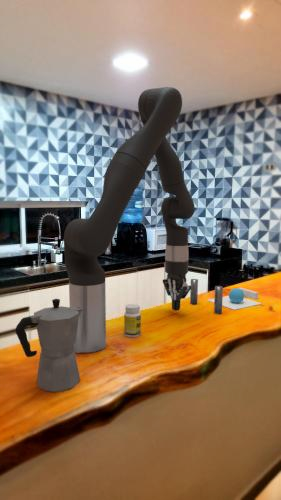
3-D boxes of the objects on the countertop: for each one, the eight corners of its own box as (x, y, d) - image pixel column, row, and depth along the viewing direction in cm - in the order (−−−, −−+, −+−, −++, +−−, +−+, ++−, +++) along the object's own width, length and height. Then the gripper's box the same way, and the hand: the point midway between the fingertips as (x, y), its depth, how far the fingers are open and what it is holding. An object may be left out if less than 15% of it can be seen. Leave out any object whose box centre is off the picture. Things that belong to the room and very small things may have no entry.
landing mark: (234, 310, 127) (234, 309, 127) (206, 300, 138) (206, 299, 138) (261, 304, 134) (261, 303, 134) (233, 295, 146) (233, 294, 146)
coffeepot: (72, 364, 86) (70, 289, 83) (97, 378, 79) (95, 297, 76) (8, 387, 75) (4, 302, 72) (30, 406, 68) (26, 313, 66)
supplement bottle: (138, 338, 101) (139, 308, 100) (122, 337, 102) (122, 307, 101) (142, 332, 106) (142, 304, 105) (126, 330, 107) (126, 303, 106)
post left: (193, 305, 132) (193, 280, 131) (188, 303, 135) (189, 279, 133) (198, 304, 134) (199, 279, 132) (194, 302, 136) (194, 278, 135)
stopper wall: (255, 299, 140) (255, 293, 140) (237, 294, 148) (237, 288, 147) (257, 298, 141) (258, 292, 140) (240, 293, 148) (240, 287, 148)
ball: (249, 299, 134) (239, 307, 132) (238, 296, 139) (228, 304, 137) (244, 286, 133) (234, 295, 131) (233, 284, 137) (223, 292, 135)
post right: (217, 314, 122) (218, 288, 120) (212, 312, 124) (213, 286, 123) (223, 313, 123) (224, 287, 122) (218, 311, 125) (219, 285, 124)
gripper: (155, 256, 123) (155, 306, 125) (180, 262, 112) (179, 317, 114) (173, 254, 127) (173, 303, 129) (199, 260, 116) (197, 313, 118)
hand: (175, 309), depth 122 cm, fingers closed
